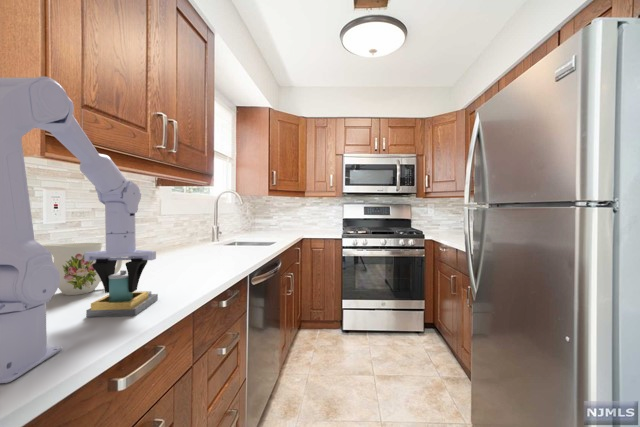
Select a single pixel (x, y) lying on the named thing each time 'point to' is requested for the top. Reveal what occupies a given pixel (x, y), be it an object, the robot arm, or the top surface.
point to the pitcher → (76, 267)
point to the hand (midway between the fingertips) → (121, 291)
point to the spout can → (119, 287)
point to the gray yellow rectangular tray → (122, 305)
